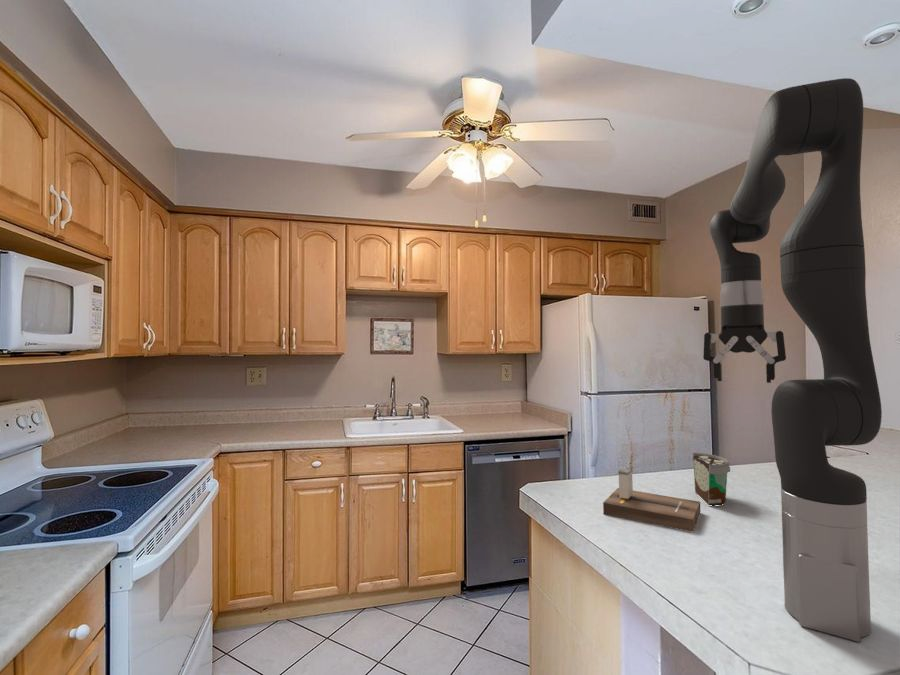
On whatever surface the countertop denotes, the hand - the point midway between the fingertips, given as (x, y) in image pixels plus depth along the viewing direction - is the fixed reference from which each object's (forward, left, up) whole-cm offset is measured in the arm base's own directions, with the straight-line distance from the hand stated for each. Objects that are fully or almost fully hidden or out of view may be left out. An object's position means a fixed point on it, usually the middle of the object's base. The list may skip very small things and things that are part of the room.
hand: (743, 381), depth 93 cm
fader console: (-3, +18, -30) cm, 35 cm away
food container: (+14, +7, -30) cm, 34 cm away
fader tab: (-3, +23, -27) cm, 36 cm away
